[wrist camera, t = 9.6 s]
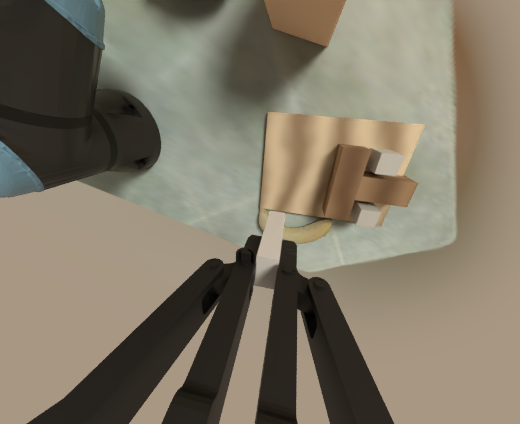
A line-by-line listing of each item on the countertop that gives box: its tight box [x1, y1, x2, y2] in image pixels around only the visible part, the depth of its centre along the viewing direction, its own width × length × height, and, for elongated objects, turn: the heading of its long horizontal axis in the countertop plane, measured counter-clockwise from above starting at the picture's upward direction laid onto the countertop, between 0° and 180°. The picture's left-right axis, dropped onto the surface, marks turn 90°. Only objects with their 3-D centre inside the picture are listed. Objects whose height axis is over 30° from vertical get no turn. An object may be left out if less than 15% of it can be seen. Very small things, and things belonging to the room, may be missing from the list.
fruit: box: [259, 208, 332, 244], centre depth 40 cm, size 7×15×3 cm, turn 86°
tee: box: [322, 144, 418, 221], centre depth 32 cm, size 12×12×4 cm
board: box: [260, 112, 425, 226], centre depth 35 cm, size 24×18×1 cm
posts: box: [350, 148, 405, 228], centre depth 32 cm, size 3×12×5 cm, turn 176°
